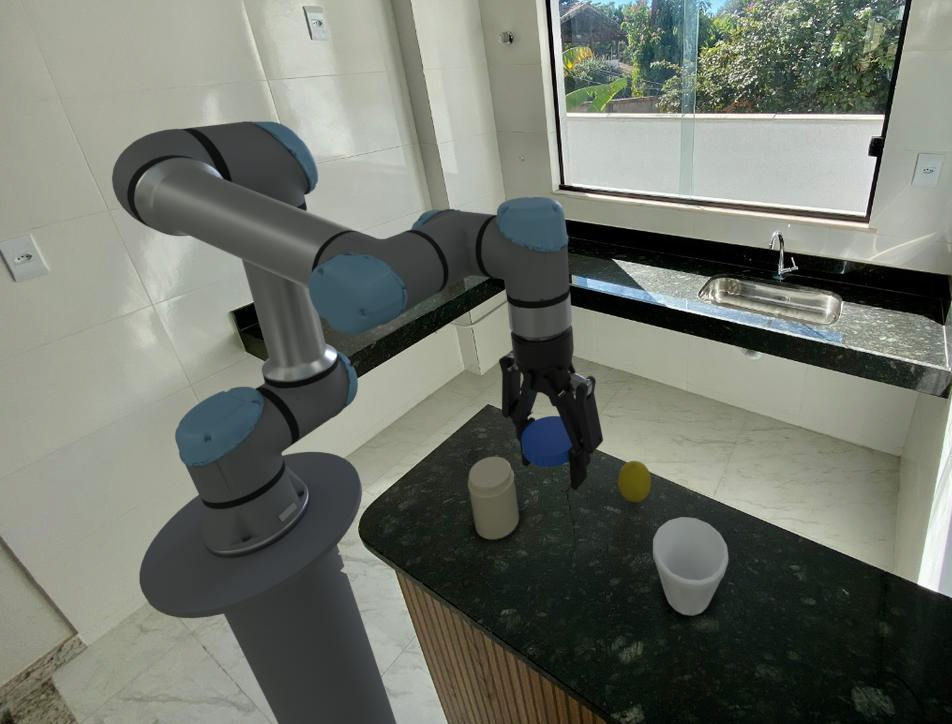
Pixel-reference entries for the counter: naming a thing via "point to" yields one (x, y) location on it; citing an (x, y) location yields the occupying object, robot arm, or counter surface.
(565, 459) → the jar lid
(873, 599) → the counter surface
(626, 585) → the counter surface
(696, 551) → the cup
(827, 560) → the counter surface
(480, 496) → the jar
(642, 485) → the lemon
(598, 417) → the robot arm
